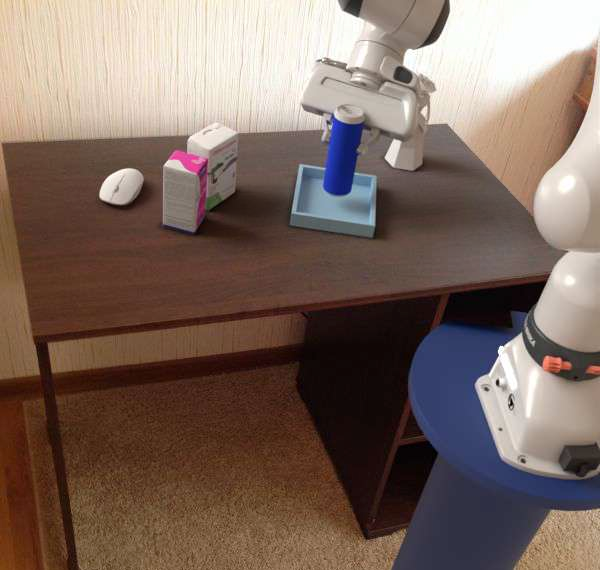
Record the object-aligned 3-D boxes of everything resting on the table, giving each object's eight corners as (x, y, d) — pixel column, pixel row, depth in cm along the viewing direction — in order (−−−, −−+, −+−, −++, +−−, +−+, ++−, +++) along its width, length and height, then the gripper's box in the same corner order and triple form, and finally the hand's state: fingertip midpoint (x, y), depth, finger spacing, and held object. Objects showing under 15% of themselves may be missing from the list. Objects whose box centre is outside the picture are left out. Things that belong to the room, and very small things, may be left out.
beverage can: (356, 192, 135) (372, 113, 124) (336, 201, 132) (350, 121, 121) (336, 179, 137) (349, 100, 126) (316, 188, 134) (328, 107, 123)
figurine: (399, 173, 147) (421, 83, 134) (378, 152, 152) (397, 63, 138) (429, 168, 150) (453, 79, 137) (407, 148, 154) (428, 60, 141)
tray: (372, 238, 131) (375, 226, 129) (289, 225, 131) (291, 213, 129) (374, 187, 142) (376, 175, 141) (298, 175, 142) (299, 163, 140)
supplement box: (195, 235, 126) (196, 174, 117) (161, 227, 126) (160, 165, 118) (206, 217, 130) (208, 156, 121) (174, 209, 130) (173, 148, 122)
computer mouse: (94, 202, 129) (92, 187, 126) (119, 174, 135) (118, 159, 133) (126, 211, 128) (125, 196, 126) (150, 183, 135) (150, 168, 132)
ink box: (208, 212, 131) (210, 149, 122) (185, 201, 132) (185, 138, 123) (236, 191, 136) (240, 130, 127) (214, 181, 137) (216, 120, 129)
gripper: (312, 45, 126) (283, 124, 127) (428, 80, 122) (397, 161, 123) (319, 63, 132) (291, 137, 133) (429, 96, 128) (399, 173, 129)
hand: (343, 149), depth 128 cm, fingers closed on beverage can, 5 cm apart
